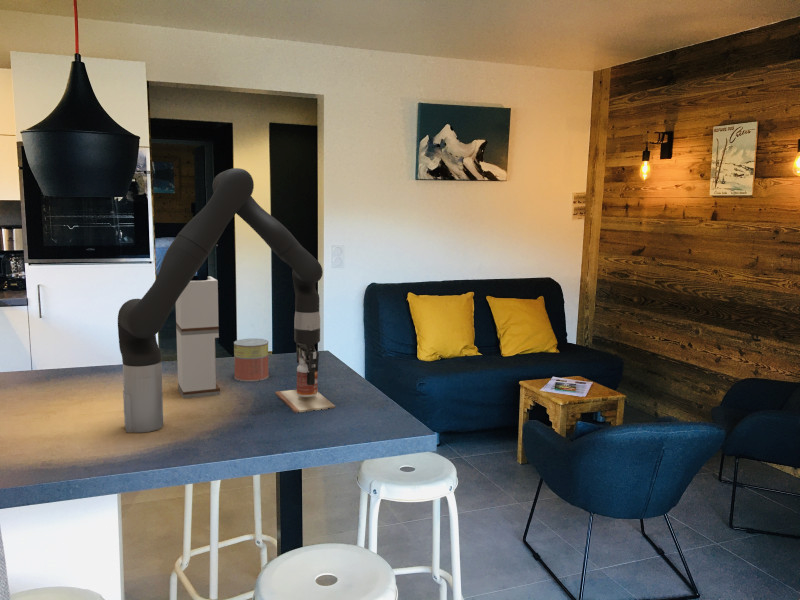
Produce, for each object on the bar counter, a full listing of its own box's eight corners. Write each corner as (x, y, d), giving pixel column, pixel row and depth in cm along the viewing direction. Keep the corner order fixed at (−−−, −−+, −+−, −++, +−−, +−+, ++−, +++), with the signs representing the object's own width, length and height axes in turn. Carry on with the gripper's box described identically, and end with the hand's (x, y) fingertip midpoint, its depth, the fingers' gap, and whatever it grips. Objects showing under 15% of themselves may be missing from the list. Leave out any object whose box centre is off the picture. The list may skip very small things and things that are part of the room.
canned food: (241, 371, 224) (241, 337, 223) (273, 373, 223) (273, 339, 221) (228, 380, 213) (228, 344, 212) (261, 382, 212) (261, 346, 210)
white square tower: (219, 394, 197) (217, 280, 192) (183, 398, 193) (180, 281, 187) (213, 385, 207) (210, 276, 202) (178, 388, 203) (174, 277, 198)
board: (294, 413, 182) (294, 410, 182) (275, 393, 199) (275, 391, 199) (335, 407, 187) (335, 405, 187) (312, 389, 205) (312, 387, 205)
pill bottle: (317, 397, 191) (317, 360, 189) (296, 397, 190) (296, 360, 188) (317, 391, 197) (317, 355, 195) (296, 391, 196) (297, 355, 194)
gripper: (287, 322, 195) (287, 377, 198) (302, 331, 182) (302, 389, 185) (311, 321, 198) (311, 374, 201) (327, 330, 186) (327, 386, 188)
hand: (307, 381), depth 193 cm, fingers closed on pill bottle, 6 cm apart
